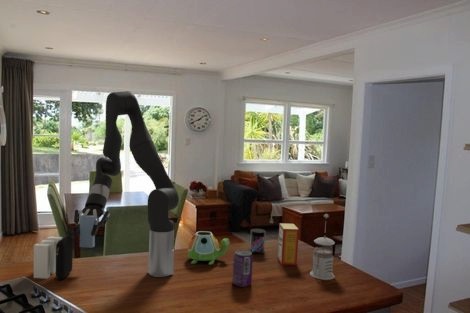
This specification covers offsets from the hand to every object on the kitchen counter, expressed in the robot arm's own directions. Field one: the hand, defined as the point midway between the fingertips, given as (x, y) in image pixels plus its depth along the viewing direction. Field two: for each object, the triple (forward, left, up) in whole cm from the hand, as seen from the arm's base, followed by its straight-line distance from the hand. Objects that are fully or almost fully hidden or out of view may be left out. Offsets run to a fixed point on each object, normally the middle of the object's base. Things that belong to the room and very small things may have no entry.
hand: (85, 234), depth 143 cm
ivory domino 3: (+13, 0, -14) cm, 19 cm away
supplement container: (-73, -14, -14) cm, 76 cm away
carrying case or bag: (+7, +5, -14) cm, 17 cm away
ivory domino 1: (+14, +4, -14) cm, 20 cm away
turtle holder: (-48, -7, -14) cm, 51 cm away
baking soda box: (-83, -2, -14) cm, 85 cm away
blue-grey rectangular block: (-1, -2, -5) cm, 6 cm away
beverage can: (-57, +19, -14) cm, 62 cm away
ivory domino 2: (+12, -4, -14) cm, 19 cm away
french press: (-91, +15, -14) cm, 94 cm away
